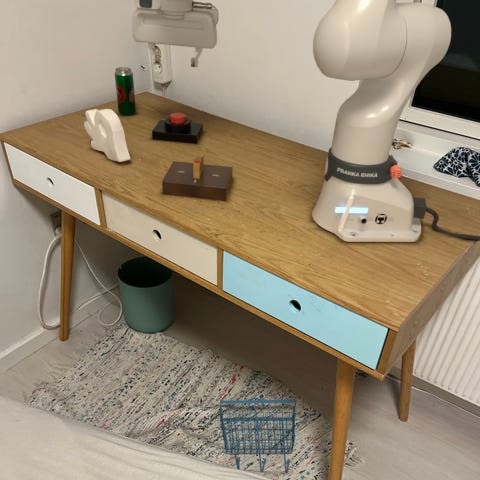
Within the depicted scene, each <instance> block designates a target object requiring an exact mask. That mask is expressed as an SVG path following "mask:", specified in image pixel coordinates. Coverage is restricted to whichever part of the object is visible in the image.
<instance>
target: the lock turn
mask: <svg viewBox="0 0 480 480" xmlns="http://www.w3.org/2000/svg"><path fill="white" fill-rule="evenodd" d="M204 155H205V154H203V153H197V155H196V156H195V158H194V160H193V162H192V163H193V178H197V179H200V177H201V174H202V172H203V170H204V164H205V162H204V161H205V159H204V157H205V156H204Z"/></svg>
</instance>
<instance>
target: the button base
mask: <svg viewBox="0 0 480 480" xmlns="http://www.w3.org/2000/svg"><path fill="white" fill-rule="evenodd" d="M203 133H204V124H203V123H202V122H201V123H199V122H192V120H191V119H190V117H186V116H185V123H180V124H176V123H171V122H170V116H168V117H165V119H159V120H158V122H157V124H155V126H154V127H153V129H152V131H151V137H152V138H151V139H152V140H155V141H167V142H175V143H176V142H177V143H186V144H187V143H188V144H198V142H199V140H200V138H201V136H202V135H203Z"/></svg>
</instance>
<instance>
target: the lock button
mask: <svg viewBox="0 0 480 480" xmlns="http://www.w3.org/2000/svg"><path fill="white" fill-rule="evenodd" d="M169 117H170V122H171V123H176V124H180V123H185V117H186V114H185V113H182V112H172V113H170V114H169Z"/></svg>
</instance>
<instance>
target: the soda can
mask: <svg viewBox="0 0 480 480" xmlns="http://www.w3.org/2000/svg"><path fill="white" fill-rule="evenodd" d="M114 80H115V92H116V93H115V94H116V101H117V111H118V112H117V113H119V114H120V115H121V116H124V117H129V116H133V115H135V114H136V112H137V107H136V97H135V96H136V95H135V93H136V92H135V82H134V81H135V80H134V73H133V71H132V69H131V68H130V67H128V66H127V67H126V66H120V67H116V68H115V71H114Z"/></svg>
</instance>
